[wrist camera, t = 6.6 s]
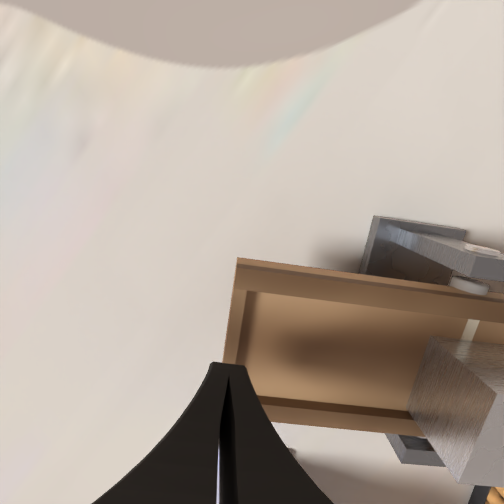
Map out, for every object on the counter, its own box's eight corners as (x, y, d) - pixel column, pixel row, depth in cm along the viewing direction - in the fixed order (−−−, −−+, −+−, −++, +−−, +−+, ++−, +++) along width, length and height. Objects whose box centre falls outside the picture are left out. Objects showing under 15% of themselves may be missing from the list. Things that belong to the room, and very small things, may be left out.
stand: (403, 383, 24) (474, 476, 17) (332, 376, 23) (372, 468, 16) (455, 227, 21) (572, 258, 13) (373, 215, 20) (448, 240, 13)
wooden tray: (589, 428, 19) (638, 463, 17) (218, 388, 17) (214, 422, 15) (658, 303, 17) (725, 325, 14) (238, 245, 15) (237, 258, 13)
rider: (492, 416, 16) (570, 493, 12) (405, 407, 16) (458, 483, 12) (523, 347, 15) (620, 407, 11) (430, 335, 15) (497, 393, 11)
